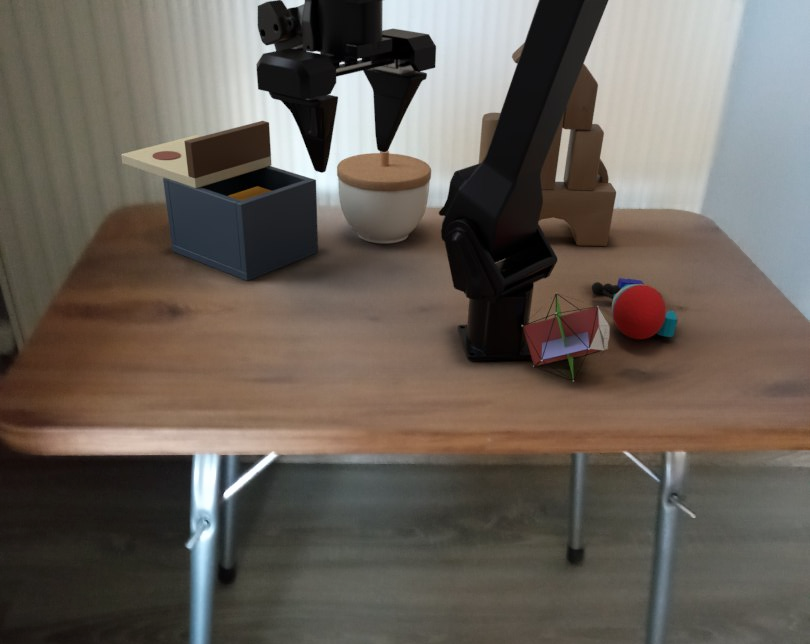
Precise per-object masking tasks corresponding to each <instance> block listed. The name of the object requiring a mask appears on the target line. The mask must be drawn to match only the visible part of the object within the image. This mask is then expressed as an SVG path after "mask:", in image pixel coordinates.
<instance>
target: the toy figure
mask: <svg viewBox="0 0 810 644" xmlns="http://www.w3.org/2000/svg"><path fill="white" fill-rule="evenodd" d="M591 292H592V293H593V294H594V295H595V296H601V295H602V294H603V295H604V296H605V297H608V298H609V299H611V300H612V302H611V313H612V320H613V322H614V324H615V326H616V327H617V329H618V330H619V331H620V332H621V333H622V334H623V335H624V336H626V337H627V338H630V339H634V340H646V339H649V338H651V337H653V336H654V335H658V336H662V337H667V338H674V335H675V331H676V327H677V323H678V316H677V314H676V311H673V310H672V309H670V310H669V311H667V309H666V304H665V301H664V298H663V295H662V294H661V293H660V291H658V290H657V289H656V288H655V287H652V286H650V285H646V284H645V283H644V282H643V281H642V280H641V279H634V278H633V279H632V278H623V277H622V278H621V277H619V278H618V280H617V284H614V285H612V284H611V283H605V284H602V283H601V282H599V281H596V282H594V283H593V284H592V286H591Z"/></svg>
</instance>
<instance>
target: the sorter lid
mask: <svg viewBox="0 0 810 644" xmlns="http://www.w3.org/2000/svg"><path fill="white" fill-rule="evenodd" d="M270 130H271V129H270V122H269V121H265V120H261V121H256V122H252V123H248V124H245V125H241V126H240V125H239V126H237V127H233V128H229V129H225V130H222V131H217V132H213V133H210V134H206V135H202V134H195V135H191V136H188V137H183V138H180V139H176V140H175V139H174V140H171V141H168V142H164V143H160V144H156V145H152V146H148V147H143V148H140V149H136V150H132V151H129V152H125V153H121V162H122V164H123V165H126V166H129V167H131V168H135V169H137V170H140V171H143V172H147V173H148V174H149V173H150V174H152V175H156V176H158V177H161V178H167V179H170V180H173V181H176V182H179V183H182V184H185V185H187V186H190V187H193V188H199V187H202V186H205V185H209V184H212V183H215V182H219V181H222V180H225V179H228V178H232V177H235V176H238V175H242V174H245V173H248V172H251V171H255V170H258V169H261V168H265V167H268V166H272V151H271V149H272V148H271V133H270Z"/></svg>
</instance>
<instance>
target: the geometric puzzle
mask: <svg viewBox="0 0 810 644" xmlns="http://www.w3.org/2000/svg"><path fill="white" fill-rule="evenodd" d="M558 296H559V297H560V298H561V299H563V300H564V301H566V302H567V303H569V304H570V305H572V306H573V307H574V308H576V309H573V310H566V311H562V309H561V306H560V301H559V298H558ZM565 297H566V298H570V299H572V300H575V301H579V302H582V303H583V301H582V300H579V299H576V298H572V297H569V296H566V295H565ZM566 298H564V296H562V295H561V294H560V293H558V292H555V294H554V296H553V298H552V302H551V304H550V306H549V309H548V311H547V314H546V316H544V317H542V318H539V319H536V320H533V321H530V322H529V323H528V324H525V325H522V327H523V330H524V333H525V337H526V340H527V344H528V347H529V351H530V355H531V358H532V359H531V361H532V367H533V368H536V369H540V370H543V371H546V372H548V373H551V374H553V375H556V376H559V377H561V378H564V379H567V380H569V381H571V382H573V383H574V382H575V381H576V379H577V377H578V373H579V371H580V370H581V367H582V365H583V363H584V361H585V359H586V357H587V356H589V355H593V354H595V353H599V352H602V353H601V355H602V354H604V353H605V352H606V351H607V350H609V340H610V328H611V327H610V324H609V322H608V321H607V319H606V318H605V316H604V315H603V313H602V311H601V309H600V306H599V305H594V304H591V303H590V305H592V307H586V308H580V309H579V307H578V306H576V305H575V304H573V303H572V302H570V301H568V300H567V299H566ZM554 301H555V313H552V314H550V311H551V309H552V306H553V304H554ZM541 309H542V307H539V309H538V310H537V311H536V312H535V313H534V314H533V315H532V316H531V318H533V316H535V315H536V314H537V313H538V312H539V311H540V310H541ZM563 313H567V314H564V315H563ZM549 314H550V315H549ZM552 316H554V317H552ZM549 317H552V318H549ZM548 318H549V319H548ZM582 357H584V358H583V360H582V362H581V364H580V366H579V368H578V370H577V372H576V375H575V360H576V359H581V358H582ZM567 361H568V365H569V368H570V373H571V376H572V379H571V378H570V377H569V376H567V375H565V374H564V373H562V372H561V371H559V370H558V369H557V368H554V367H553V366H552V364H558V363H562V362H567ZM546 365H547V366H548V367H550V368H552V369H554V370H555V371H556V372H558V373H559V374H562V375H559V374H556V373H554V372H551V371H548V370H545V369H543V368H542V367H540V366H546ZM587 369H588V367H587V368H585V369H584V370H583V371H582V372H581V373H580V374H579V376H581V375H582V374H583V373H584V372H585V371H586V370H587ZM563 375H564V376H563Z"/></svg>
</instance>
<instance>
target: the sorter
mask: <svg viewBox="0 0 810 644" xmlns="http://www.w3.org/2000/svg"><path fill="white" fill-rule="evenodd" d="M162 180H163V181H162V182H163V188H164V197H165V204H166V211H167V220H168V227H169V235H170V241H171V242H170V243H171V249H172V252H174V253H176V254H179V255H181V256H184V257H186V258H188V259H191V260H193V261H196V262H199V263H201V264H204V265H206V266H209V267H211V268H213V269H216V270H219V271H222V272H223V273H226V274H229V275H231V276H234V277H237V278H239V279H242V280H244V281H247V282H248V281H251V280H254V279H256V278H258V277H260V276H263V275H265V274H268V273H271V272H273V271H276V270H278V269H280V268H283V267H286V266H288V265H290V264H293V263H295V262H298V261H300V260H303V259H305V258H307V257H310V256H312V255H315V254H317V253H319V239H318V237H319V236H318V235H319V234H318V206H317V204H318V201H317V179H315V178H311V177H308V176H304V175H301V174H298V173H295V172H291V171H288V170H285V169H283V168H282V169H281V168H278V167H275V166H273V165H271V166H268V167H265V168H261V169H258V170H255V171H251V172H248V173H245V174H242V175H238V176H235V177H232V178H228V179H225V180H222V181H219V182H215V183H212V184H209V185H205V186H202V187H199V188H193V187H190V186H187V185H185V184H182V183H179V182H176V181H173V180H170V179H167V178H164V177H162ZM257 186H258V187H262V188H265V189H268V190H271V192H268V193H264V194H261V195H258V196H255V197H252V198H249V199H246V200H243V201H240V200H237V199H234V198H231V197H228V196H229V195H232V194H235V193H238V192H241V191H244V190H247V189H250V188H254V187H257Z"/></svg>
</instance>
